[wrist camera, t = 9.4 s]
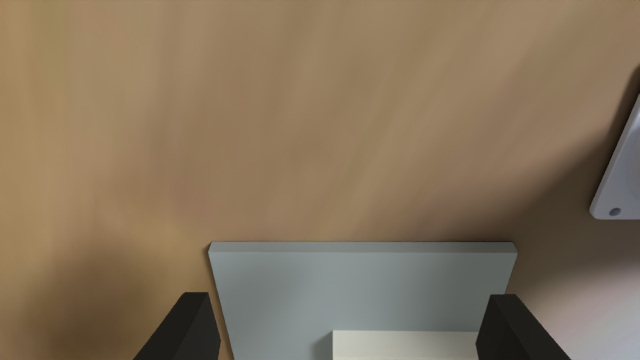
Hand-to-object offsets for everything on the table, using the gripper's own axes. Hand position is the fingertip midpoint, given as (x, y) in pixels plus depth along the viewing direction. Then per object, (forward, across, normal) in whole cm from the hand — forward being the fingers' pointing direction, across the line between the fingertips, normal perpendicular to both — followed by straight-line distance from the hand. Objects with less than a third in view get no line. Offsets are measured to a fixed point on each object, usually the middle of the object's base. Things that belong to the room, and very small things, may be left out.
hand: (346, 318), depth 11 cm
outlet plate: (+9, -1, +14) cm, 17 cm away
